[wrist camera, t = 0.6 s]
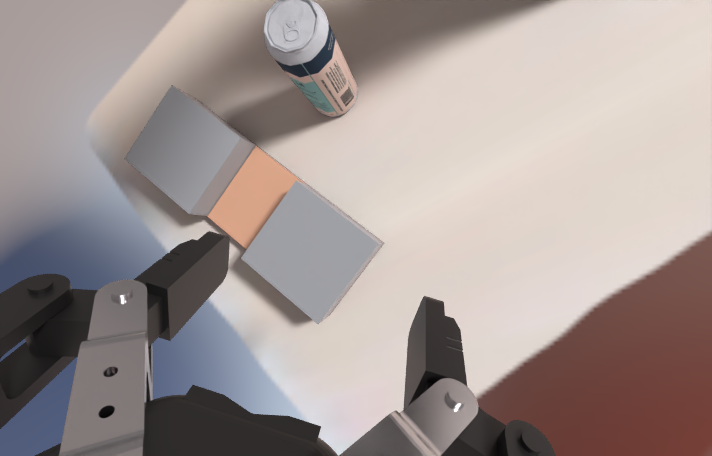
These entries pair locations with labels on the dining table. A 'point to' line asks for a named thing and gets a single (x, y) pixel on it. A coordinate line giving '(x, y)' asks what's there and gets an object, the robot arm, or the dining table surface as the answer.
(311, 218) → the grey peach bar
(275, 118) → the dining table surface
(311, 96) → the beer can
